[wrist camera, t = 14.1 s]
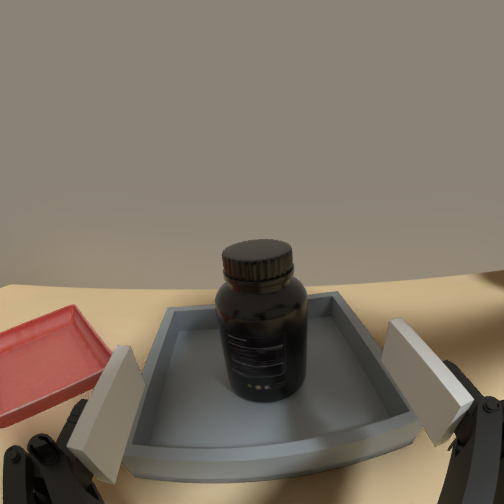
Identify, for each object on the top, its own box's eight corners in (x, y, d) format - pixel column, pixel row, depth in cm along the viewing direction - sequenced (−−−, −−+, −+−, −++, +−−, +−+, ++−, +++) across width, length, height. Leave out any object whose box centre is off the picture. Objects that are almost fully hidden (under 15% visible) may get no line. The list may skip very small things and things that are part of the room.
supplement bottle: (238, 352, 27) (224, 235, 23) (307, 355, 25) (308, 233, 22) (218, 401, 20) (191, 265, 17) (303, 408, 19) (307, 265, 15)
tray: (336, 316, 33) (337, 291, 32) (412, 443, 14) (427, 415, 13) (173, 332, 32) (167, 307, 31) (134, 477, 13) (114, 453, 12)
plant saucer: (130, 383, 24) (119, 358, 23) (-6, 447, 11) (-26, 423, 10) (81, 322, 35) (74, 302, 34) (-12, 361, 23) (-22, 341, 22)
